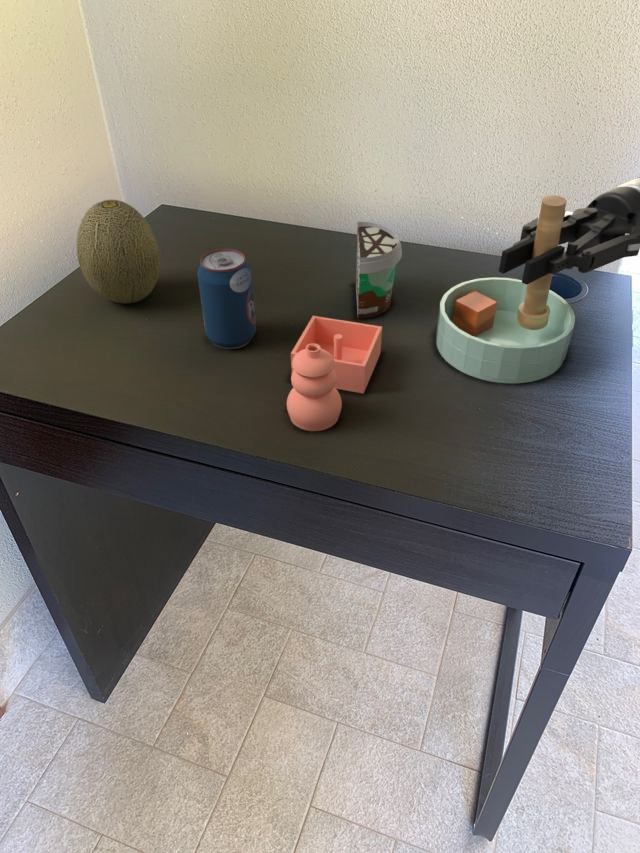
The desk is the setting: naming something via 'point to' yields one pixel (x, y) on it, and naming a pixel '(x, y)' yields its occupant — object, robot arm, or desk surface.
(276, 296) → the desk surface
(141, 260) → the fruit
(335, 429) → the desk surface
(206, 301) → the soda can
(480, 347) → the bowl
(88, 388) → the desk surface
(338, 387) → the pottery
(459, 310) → the block
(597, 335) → the desk surface
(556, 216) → the pestle
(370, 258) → the food container
